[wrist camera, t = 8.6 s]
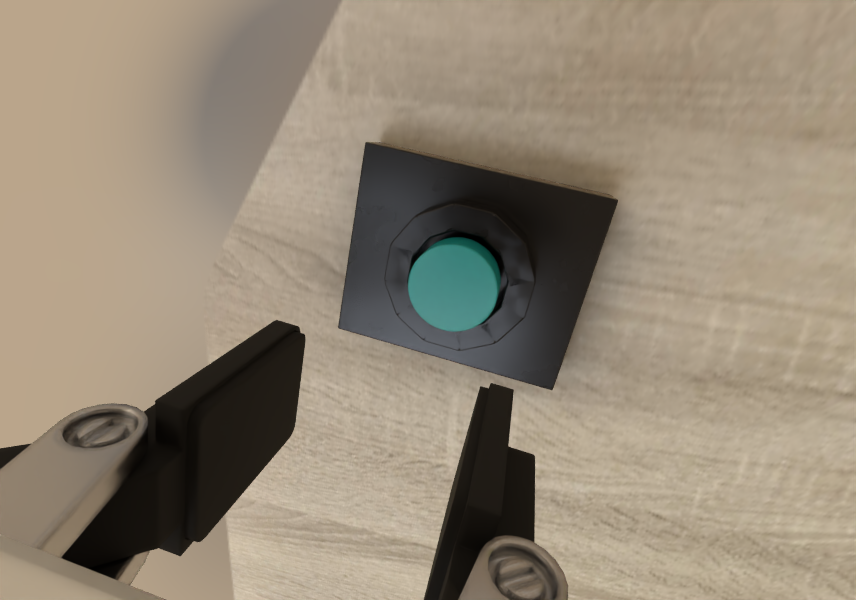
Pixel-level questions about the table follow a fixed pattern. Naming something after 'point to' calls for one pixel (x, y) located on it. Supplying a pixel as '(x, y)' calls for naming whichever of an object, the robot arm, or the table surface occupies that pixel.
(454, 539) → the robot arm
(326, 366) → the table surface
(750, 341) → the table surface
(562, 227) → the control block
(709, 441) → the table surface
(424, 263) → the button
